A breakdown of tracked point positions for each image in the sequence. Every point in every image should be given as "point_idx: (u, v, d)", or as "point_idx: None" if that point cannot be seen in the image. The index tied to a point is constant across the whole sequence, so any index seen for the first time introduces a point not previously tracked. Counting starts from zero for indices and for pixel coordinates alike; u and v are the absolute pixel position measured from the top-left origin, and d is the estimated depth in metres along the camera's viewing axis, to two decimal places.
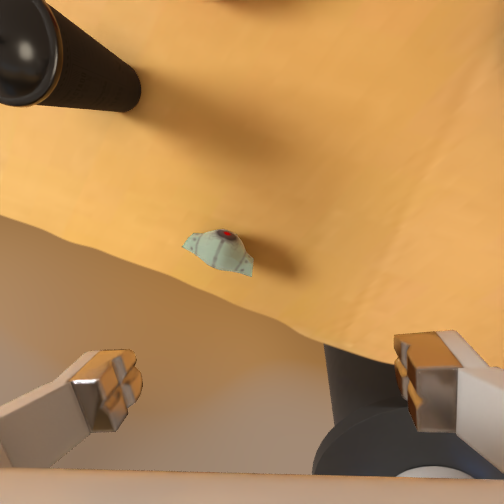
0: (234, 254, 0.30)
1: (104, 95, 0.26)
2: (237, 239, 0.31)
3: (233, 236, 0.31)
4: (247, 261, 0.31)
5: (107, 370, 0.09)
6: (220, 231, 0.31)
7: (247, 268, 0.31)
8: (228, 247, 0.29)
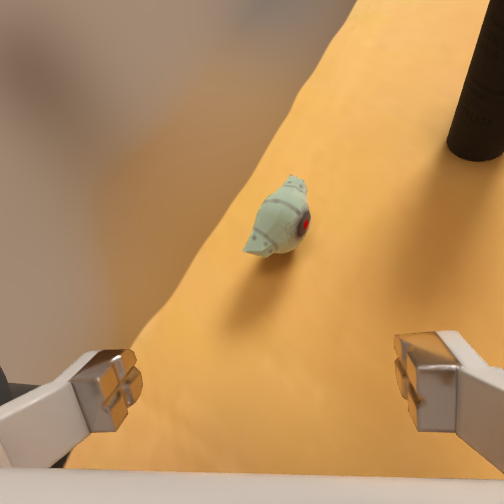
0: (278, 227, 0.22)
1: (488, 96, 0.22)
2: (296, 237, 0.23)
3: (301, 232, 0.23)
4: (265, 246, 0.22)
5: (107, 370, 0.09)
6: (309, 216, 0.23)
7: (255, 245, 0.23)
8: (289, 218, 0.22)
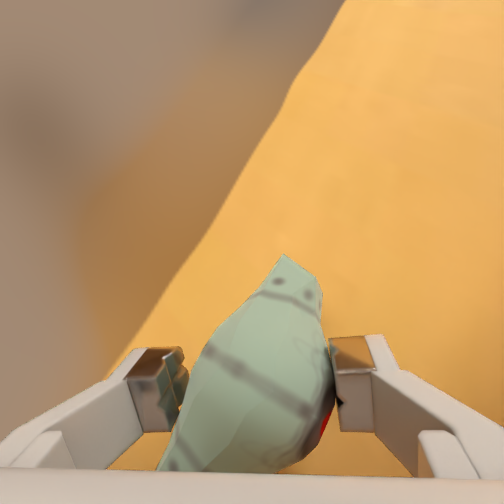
0: (242, 454, 0.07)
1: None
2: (297, 461, 0.08)
3: None
4: None
5: (162, 368, 0.08)
6: (334, 395, 0.08)
7: None
8: (277, 436, 0.07)
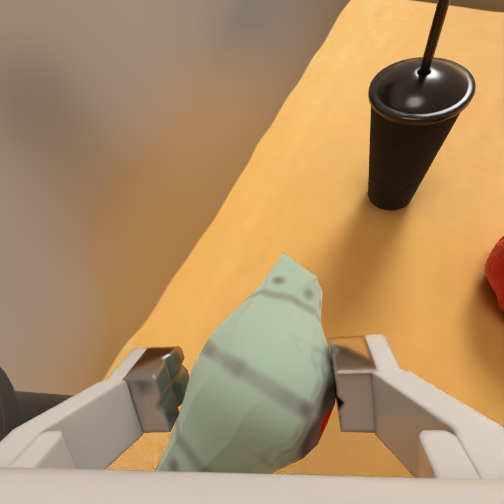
0: (242, 453, 0.07)
1: (381, 169, 0.30)
2: (297, 459, 0.08)
3: None
4: None
5: (161, 368, 0.08)
6: None
7: None
8: (278, 434, 0.07)
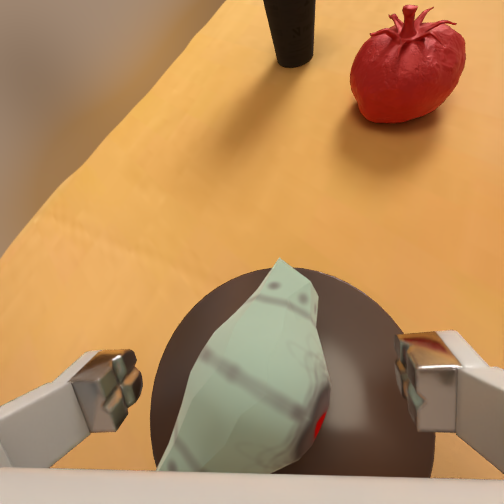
0: (238, 455, 0.07)
1: (271, 11, 0.35)
2: (293, 461, 0.08)
3: None
4: None
5: (107, 370, 0.09)
6: (328, 397, 0.08)
7: None
8: (271, 437, 0.07)
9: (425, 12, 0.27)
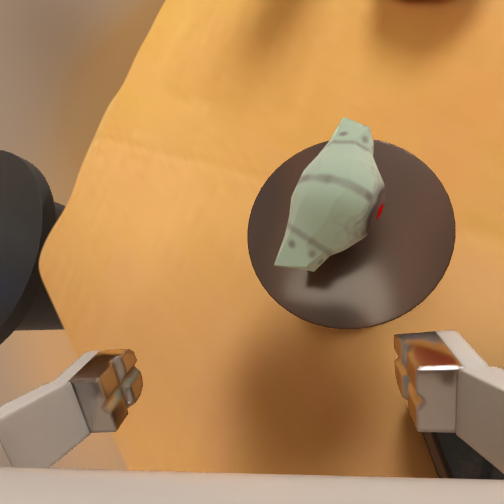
0: (333, 225, 0.13)
1: None
2: (363, 235, 0.13)
3: (372, 226, 0.13)
4: (312, 257, 0.13)
5: (107, 370, 0.09)
6: (384, 196, 0.13)
7: (295, 256, 0.14)
8: (354, 209, 0.12)
9: None
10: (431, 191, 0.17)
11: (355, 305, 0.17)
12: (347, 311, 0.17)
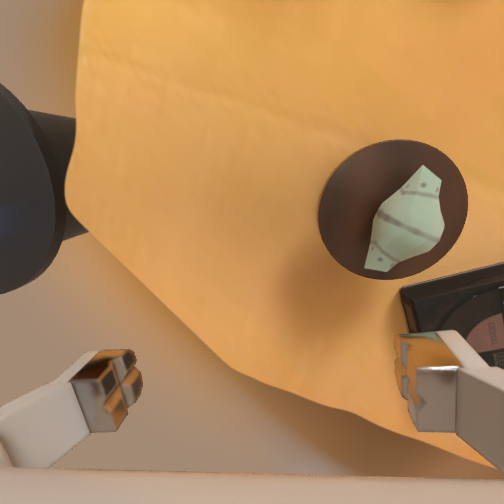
0: (411, 254, 0.21)
1: None
2: None
3: None
4: (391, 266, 0.22)
5: (107, 370, 0.09)
6: None
7: (381, 265, 0.22)
8: (428, 248, 0.20)
9: None
10: (457, 191, 0.24)
11: (394, 266, 0.27)
12: None
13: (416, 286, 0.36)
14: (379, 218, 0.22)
